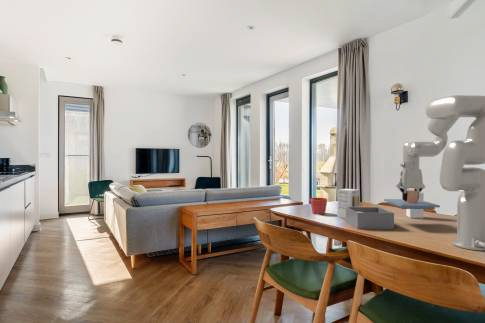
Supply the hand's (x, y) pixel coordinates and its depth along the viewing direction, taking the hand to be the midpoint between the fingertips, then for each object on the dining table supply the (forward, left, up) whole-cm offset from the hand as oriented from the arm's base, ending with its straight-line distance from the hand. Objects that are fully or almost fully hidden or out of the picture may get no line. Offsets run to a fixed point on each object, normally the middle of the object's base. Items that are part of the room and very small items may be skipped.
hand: (410, 200), depth 159 cm
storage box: (0, +22, -13) cm, 26 cm away
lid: (0, 0, -3) cm, 3 cm away
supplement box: (+20, +26, -13) cm, 35 cm away
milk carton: (+22, -14, -13) cm, 29 cm away
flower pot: (+32, +41, -13) cm, 53 cm away
